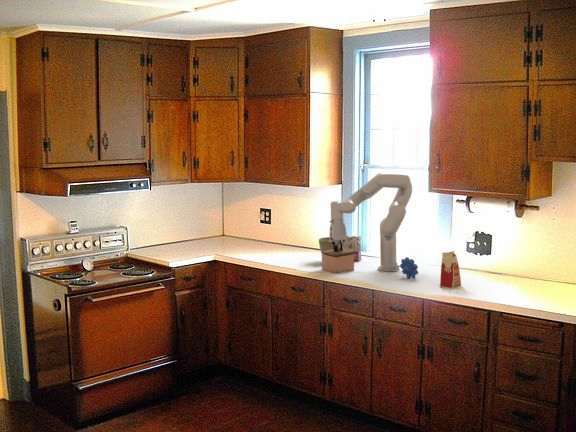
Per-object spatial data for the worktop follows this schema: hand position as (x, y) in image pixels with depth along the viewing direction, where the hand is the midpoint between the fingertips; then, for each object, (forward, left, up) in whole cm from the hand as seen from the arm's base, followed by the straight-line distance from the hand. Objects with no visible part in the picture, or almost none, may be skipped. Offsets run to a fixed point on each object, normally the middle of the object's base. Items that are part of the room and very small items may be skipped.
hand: (338, 250), depth 399 cm
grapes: (-43, -18, -12) cm, 48 cm away
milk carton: (-72, -21, -12) cm, 76 cm away
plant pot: (+20, -9, -12) cm, 25 cm away
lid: (0, 0, -2) cm, 2 cm away
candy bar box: (+18, -25, -12) cm, 33 cm away
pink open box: (0, 0, -12) cm, 12 cm away
